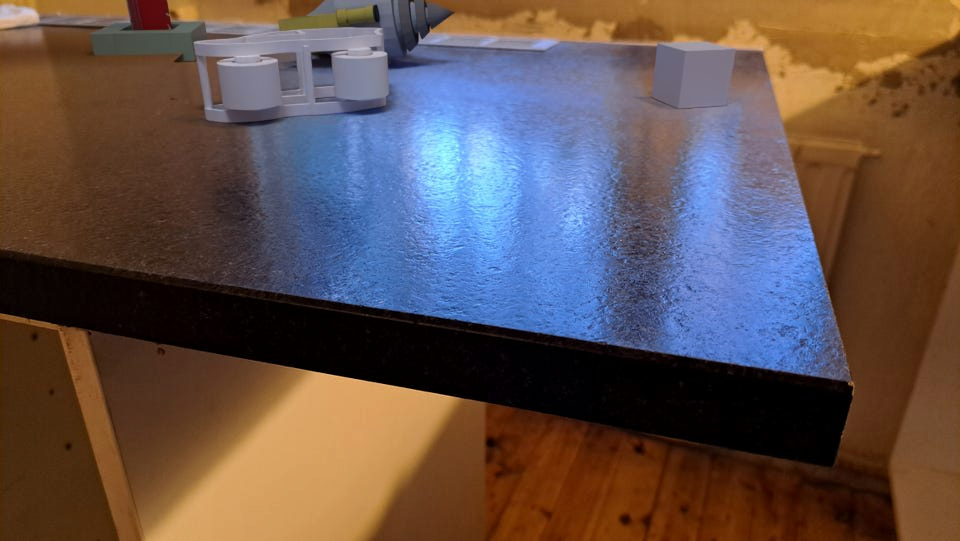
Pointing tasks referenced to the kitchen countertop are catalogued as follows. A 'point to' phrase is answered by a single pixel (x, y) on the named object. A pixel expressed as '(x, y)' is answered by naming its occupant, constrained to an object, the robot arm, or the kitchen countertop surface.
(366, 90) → the wheeled car silhouette
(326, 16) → the ray gun
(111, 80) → the kitchen countertop surface
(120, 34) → the holder
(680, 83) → the gray cube
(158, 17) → the soda can
